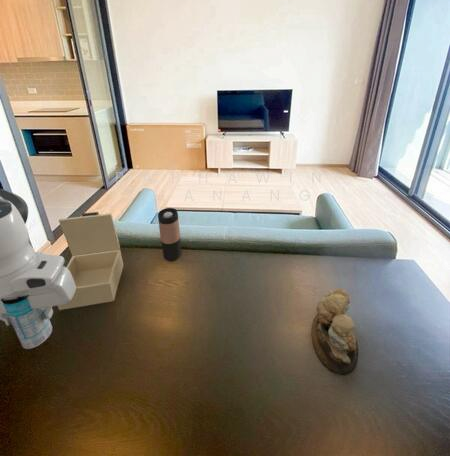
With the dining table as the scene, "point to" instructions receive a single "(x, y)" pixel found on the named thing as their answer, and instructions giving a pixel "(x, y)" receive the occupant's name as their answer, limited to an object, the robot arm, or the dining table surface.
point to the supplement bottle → (28, 322)
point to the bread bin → (94, 278)
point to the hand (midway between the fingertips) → (31, 319)
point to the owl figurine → (335, 333)
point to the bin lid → (90, 233)
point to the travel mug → (170, 233)
